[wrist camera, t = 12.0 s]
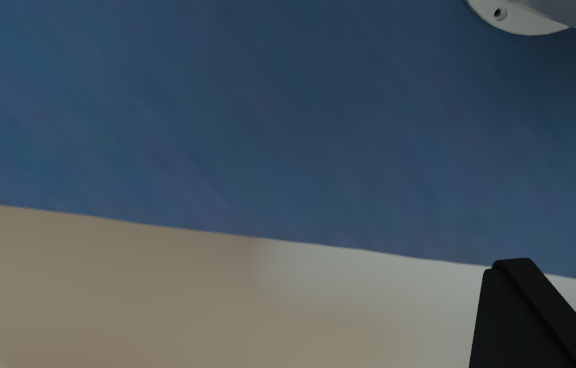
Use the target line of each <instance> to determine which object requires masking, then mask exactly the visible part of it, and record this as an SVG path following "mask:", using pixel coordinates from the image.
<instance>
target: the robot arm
mask: <svg viewBox="0 0 576 368" xmlns="http://www.w3.org/2000/svg"><path fill="white" fill-rule="evenodd" d="M464 1H465V2H466V4H467V5H468V6H469V8H470V9H471V10H472V11H473V12H474V13H475V14H477V15H478V16H479V17H480V18H481V19H482V20H484V21H485V22H487V23H489V24H491V25H493V26H494V27H496V28H499V29H501V30H504V31H507V32H509V33H513V34H520V35H526V36H534V35H547V34H551V33H555V32H559V31H563V30H566V29H568V28H570V27H572V28H575V29H576V0H464ZM497 9H498V13H497V14H496V15H495V16H494V13H495V11H496V10H497ZM469 368H576V312H575V311H574V310H573V308H572V307H571V306H570V305H569V304H568V303H567V302H566V300H565V299H564V298H563V297H562V296H561V294H560V293H559V292H558V291H557V290H556V288H555V287H554V286H553V285H552V284H551V282H550V281H549V280H548V279H547V278H546V277H545V275H544V274H543V273H542V272H541V271H540V269H539V268H538V267H537V266H536V265H535V264H534V262H533V261H531V260H530V259H529V258H516V259H505V260H497V261H495V262H494V263H493V265H492V268H491V269H486V270H485V271H484V274H483V278H482V286H481V291H480V298H479V304H478V311H477V317H476V324H475V330H474V337H473V344H472V350H471V356H470V363H469Z"/></svg>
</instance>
